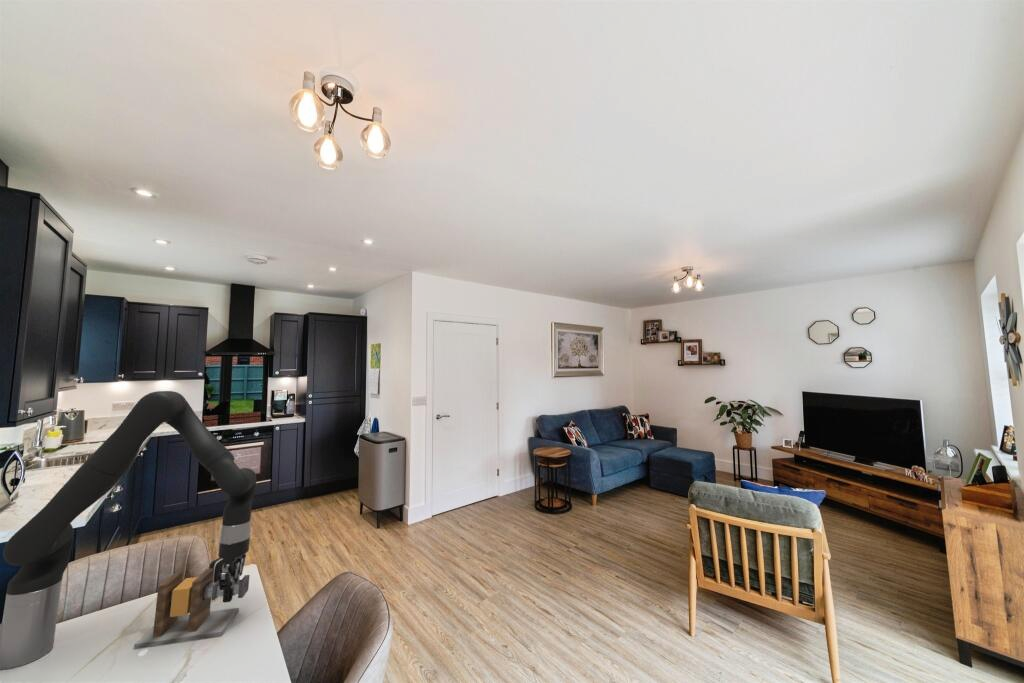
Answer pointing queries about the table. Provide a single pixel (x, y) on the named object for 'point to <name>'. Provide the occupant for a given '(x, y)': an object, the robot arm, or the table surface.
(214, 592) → the shaft
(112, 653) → the table surface
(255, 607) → the table surface
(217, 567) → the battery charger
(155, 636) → the stand
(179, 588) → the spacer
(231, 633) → the table surface
